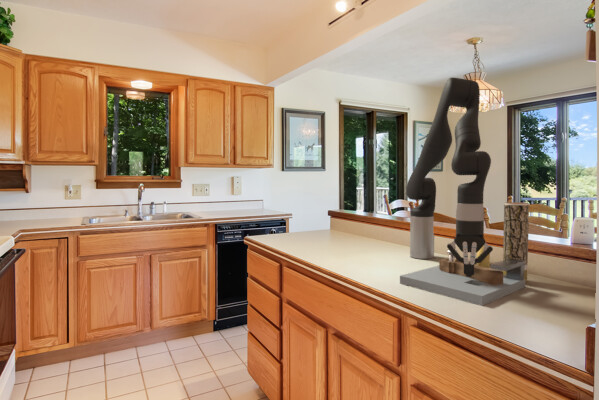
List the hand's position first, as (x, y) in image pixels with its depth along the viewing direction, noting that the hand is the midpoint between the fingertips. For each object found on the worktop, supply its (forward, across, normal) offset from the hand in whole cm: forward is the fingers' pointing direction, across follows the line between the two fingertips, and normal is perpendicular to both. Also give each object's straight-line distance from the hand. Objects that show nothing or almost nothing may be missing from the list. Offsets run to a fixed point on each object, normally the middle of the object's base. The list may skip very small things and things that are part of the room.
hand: (468, 276), depth 110 cm
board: (+4, -2, +2) cm, 5 cm away
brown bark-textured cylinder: (+4, +14, +14) cm, 20 cm away
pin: (+1, +4, +11) cm, 12 cm away
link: (+1, 0, +5) cm, 5 cm away
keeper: (+4, +10, +2) cm, 11 cm away
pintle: (+4, -5, +10) cm, 12 cm away
